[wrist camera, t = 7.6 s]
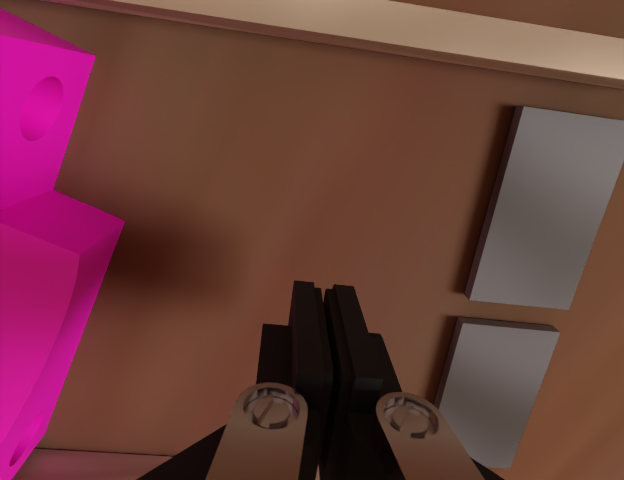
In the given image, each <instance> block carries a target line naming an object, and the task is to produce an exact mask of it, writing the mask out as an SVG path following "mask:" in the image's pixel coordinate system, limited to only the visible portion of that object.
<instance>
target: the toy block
mask: <svg viewBox="0 0 624 480" xmlns="http://www.w3.org/2000/svg"><path fill="white" fill-rule="evenodd" d="M94 60H95V55H93V54H91V53H89V52H87V51H85V50H83V49H81V48H79V47H77V46H75V45H73V44H71V43H69V42H67V41H65V40H63V39H61V38H59V37H57V36H55V35H53V34H51V33H49V32H47V31H45V30H43V29H41V28H39V27H37V26H35V25H33V24H31V23H29V22H27V21H25V20H23V19H21V18H19V17H17V16H15V15H13V14H11V13H9V12H7V11H5V10H3V9H1V8H0V480H12V478H13V477H14V475H15V474H16V473H17V471H18V470H19V469H20V467H21V466H22V465H23V463H24V462H25V460H26V459H27V458H28V456H29V455H30V454H31V452H32V451H33V449H34V448H35V447H36V445H37V444H38V443H39V441H40V440H41V438H42V437H43V436H44V434H45V431H46V429H47V426H48V424H49V421H50V418H51V416H52V413H53V410H54V408H55V405H56V402H57V400H58V397H59V394H60V392H61V389H62V387H63V384H64V381H65V379H66V376H67V373H68V371H69V368H70V365H71V363H72V360H73V358H74V355H75V352H76V350H77V347H78V344H79V342H80V339H81V336H82V334H83V331H84V329H85V326H86V323H87V321H88V318H89V315H90V313H91V310H92V307H93V305H94V302H95V300H96V297H97V294H98V292H99V289H100V286H101V284H102V281H103V278H104V276H105V273H106V270H107V268H108V265H109V263H110V260H111V257H112V255H113V252H114V249H115V247H116V244H117V241H118V239H119V236H120V234H121V231H122V228H123V226H124V223H125V220H122V219H120V218H118V217H115V216H113V215H111V214H108V213H106V212H104V211H101V210H99V209H97V208H94V207H92V206H90V205H87V204H85V203H83V202H81V201H78V200H76V199H74V198H71V197H69V196H67V195H64V194H62V193H60V192H57V191H55V190H53V189H54V186H55V183H56V179H57V176H58V173H59V170H60V167H61V164H62V160H63V157H64V154H65V151H66V148H67V145H68V142H69V138H70V135H71V132H72V129H73V126H74V123H75V120H76V116H77V113H78V110H79V107H80V104H81V101H82V97H83V94H84V91H85V88H86V85H87V82H88V79H89V75H90V72H91V69H92V66H93V63H94Z"/></svg>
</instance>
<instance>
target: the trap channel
mask: <svg viewBox="0 0 624 480" xmlns="http://www.w3.org/2000/svg"><path fill="white" fill-rule="evenodd" d="M40 1H46V2H53V3H60V4H66V5H73V6H79V7H86V8H92V9H99V10H106V11H112V12H119V13H125V14H132V15H138V16H145V17H152V18H158V19H165V20H171V21H178V22H184V23H191V24H198V25H204V26H211V27H217V28H224V29H230V30H237V31H244V32H250V33H257V34H263V35H270V36H276V37H283V38H290V39H296V40H303V41H309V42H316V43H323V44H329V45H336V46H342V47H349V48H355V49H362V50H369V51H375V52H382V53H388V54H395V55H401V56H408V57H415V58H421V59H428V60H434V61H441V62H447V63H454V64H461V65H467V66H474V67H480V68H487V69H493V70H500V71H507V72H513V73H520V74H526V75H533V76H539V77H546V78H553V79H559V80H566V81H572V82H579V83H586V84H592V85H599V86H605V87H612V88H618V89H624V39H620V38H614V37H608V36H602V35H596V34H590V33H584V32H578V31H571V30H565V29H559V28H553V27H547V26H541V25H535V24H529V23H523V22H517V21H510V20H504V19H498V18H492V17H486V16H480V15H474V14H468V13H462V12H456V11H450V10H443V9H437V8H431V7H425V6H419V5H413V4H407V3H401V2H395V1H389V0H40ZM623 161H624V121H621V120H615V119H608V118H601V117H594V116H587V115H580V114H573V113H566V112H559V111H552V110H545V109H539V108H532V107H525V106H516V108H515V111H514V115H513V119H512V122H511V126H510V129H509V133H508V137H507V140H506V144H505V148H504V151H503V155H502V159H501V162H500V166H499V169H498V173H497V177H496V180H495V184H494V188H493V191H492V195H491V198H490V202H489V206H488V209H487V213H486V217H485V220H484V224H483V228H482V231H481V235H480V238H479V242H478V246H477V249H476V253H475V257H474V260H473V264H472V268H471V271H470V275H469V278H468V282H467V286H466V289H465V293H464V294H465V296H466V297H467V298H468V299H469V300H474V301H484V302H494V303H505V304H515V305H525V306H535V307H545V308H555V309H565V310H569V308H570V305H571V302H572V299H573V297H574V294H575V291H576V289H577V286H578V283H579V280H580V278H581V275H582V272H583V270H584V267H585V264H586V262H587V259H588V256H589V253H590V251H591V248H592V245H593V243H594V240H595V237H596V234H597V232H598V229H599V226H600V224H601V221H602V218H603V215H604V213H605V210H606V207H607V205H608V202H609V199H610V197H611V194H612V191H613V188H614V186H615V183H616V180H617V178H618V175H619V172H620V169H621V167H622V164H623ZM559 335H560V332H559V331H558V330H557V329H556V328H555V327H554V326H550V325H540V324H529V323H518V322H508V321H497V320H487V319H476V318H466V317H458V318H457V322H456V326H455V329H454V333H453V337H452V340H451V344H450V348H449V351H448V355H447V358H446V362H445V366H444V369H443V373H442V377H441V380H440V384H439V388H438V391H437V395H436V398H435V402H434V406H435V407H436V408H437V409H438V410H439V411H440V412H441V414H442V415H443V416H444V418H445V419H446V421H447V422H448V424H449V425H450V427H451V429H452V430H453V432H454V433H455V435H456V436H457V438H458V439H459V441H460V442H461V444H462V446H463V447H464V449H465V450H466V452H467V453H468V455H469V456H470V457H471V458H472V459H474V460H475V461H477V462H478V463H480V464H482V465H483V466H485V467H494V468H510V467H511V465H512V462H513V459H514V457H515V454H516V451H517V448H518V446H519V443H520V440H521V438H522V435H523V432H524V429H525V427H526V424H527V421H528V419H529V416H530V413H531V410H532V408H533V405H534V402H535V400H536V397H537V394H538V392H539V389H540V386H541V383H542V381H543V378H544V375H545V373H546V370H547V367H548V364H549V362H550V359H551V356H552V354H553V351H554V348H555V345H556V343H557V340H558V337H559ZM171 458H172V457H170V456H153V455H136V454H119V453H102V452H85V451H68V450H51V449H33V451H32V452H31V454H30V455H29V456H28V458H27V459H26V460H25V462H24V463H23V465H22V466H21V467H20V469H19V470H18V471H17V473H16V474H15V475H14V477H13V478H12V480H136V479H138V478H139V477H141V476H143V475H144V474H146V473H148V472H149V471H151V470H152V469H154V468H156V467H157V466H159V465H161V464H162V463H164V462H166V461H167V460H169V459H171ZM315 480H320V477H319V465H318V468H317V474H316V479H315Z"/></svg>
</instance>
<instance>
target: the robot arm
mask: <svg viewBox="0 0 624 480" xmlns="http://www.w3.org/2000/svg"><path fill="white" fill-rule="evenodd" d="M318 464H319V477H320V480H504V479H503V478H501V477H500V476H498V475H497V474H495V473H494V472H492V471H491V470H489V469H488V468H486V467H485V466H483V465H482V464H480V463H478V462H477V461H475V460H474V459H472V458H471V457H470V456H469V455H468V453H467V452H466V450H465V449H464V447H463V446H462V444H461V442H460V441H459V439H458V438H457V436H456V435H455V433H454V432H453V430H452V429H451V427H450V425H449V424H448V422H447V421H446V419H445V418H444V416H443V415H442V414H441V412H440V411H439V410H438V409H437V408H436V407H435V406H434V405H433V404H431V403H430V402H429V401H427V400H425V399H423V398H421V397H419V396H417V395H414V394H410V393H405V392H402V390H401V387H400V384H399V382H398V379H397V376H396V374H395V371H394V368H393V365H392V363H391V360H390V357H389V355H388V352H387V349H386V346H385V344H384V341H383V338H382V336H381V334H377V333H368V330H367V327H366V323H365V320H364V317H363V314H362V311H361V308H360V305H359V301H358V298H357V295H356V292H355V289H354V287H353V286H345V285H335V284H334V285H333V288H332V289H326V291H325V296H324V302H323V299H322V293H321V288H314V282H304V281H294V285H293V292H292V300H291V308H290V315H289V323H288V326H285V325H274V324H263V328H262V337H261V346H260V355H259V363H258V372H257V381H256V385H253V386H251V387H248V388H247V389H246V390H244V391H243V392H242V393H241V394H240V395H239V397H238V398H237V400H236V402H235V405H234V407H233V410H232V413H231V415H230V418H229V420H228V423H227V424H226V425H225V426H223V427H221V428H220V429H218V430H216V431H215V432H213V433H211V434H210V435H208V436H207V437H205V438H203V439H202V440H200V441H198V442H197V443H195V444H193V445H192V446H190V447H189V448H187V449H185V450H184V451H182V452H180V453H179V454H177V455H175V456H174V457H172V458H171V459H169V460H167V461H166V462H164V463H162V464H161V465H159V466H157V467H156V468H154V469H152V470H151V471H149V472H148V473H146V474H144V475H143V476H141V477H139V478H138V479H136V480H315V479H316V474H317V468H318Z"/></svg>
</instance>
